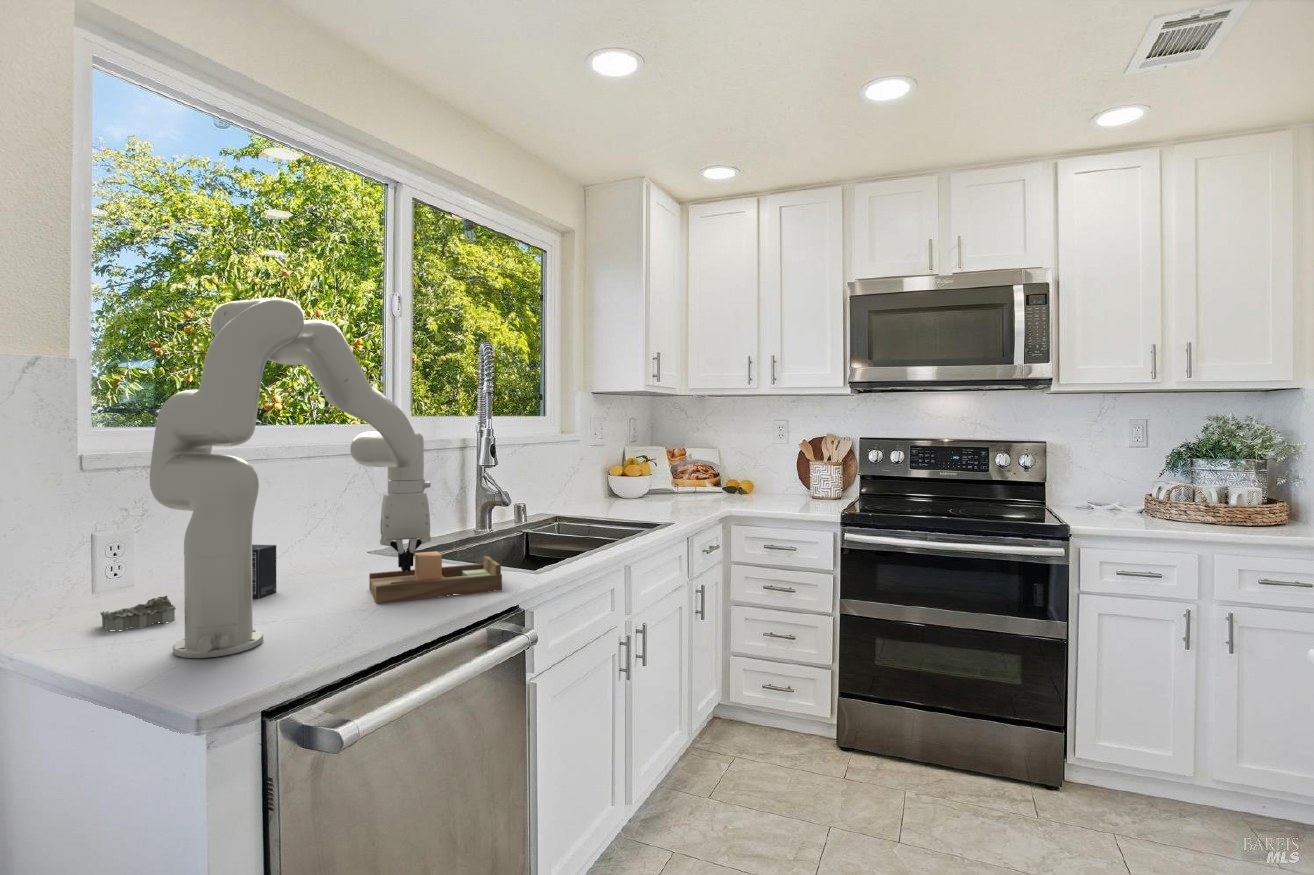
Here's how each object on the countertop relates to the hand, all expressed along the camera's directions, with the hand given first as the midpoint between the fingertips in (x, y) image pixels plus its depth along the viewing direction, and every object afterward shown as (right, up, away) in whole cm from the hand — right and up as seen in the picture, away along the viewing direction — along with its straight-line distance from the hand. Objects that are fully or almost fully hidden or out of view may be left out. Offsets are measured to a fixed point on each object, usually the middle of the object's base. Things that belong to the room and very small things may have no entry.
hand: (405, 569), depth 156 cm
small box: (-32, -4, -6) cm, 33 cm away
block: (+4, -2, +2) cm, 5 cm away
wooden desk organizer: (+7, -4, 0) cm, 8 cm away
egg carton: (-39, -5, -28) cm, 48 cm away
